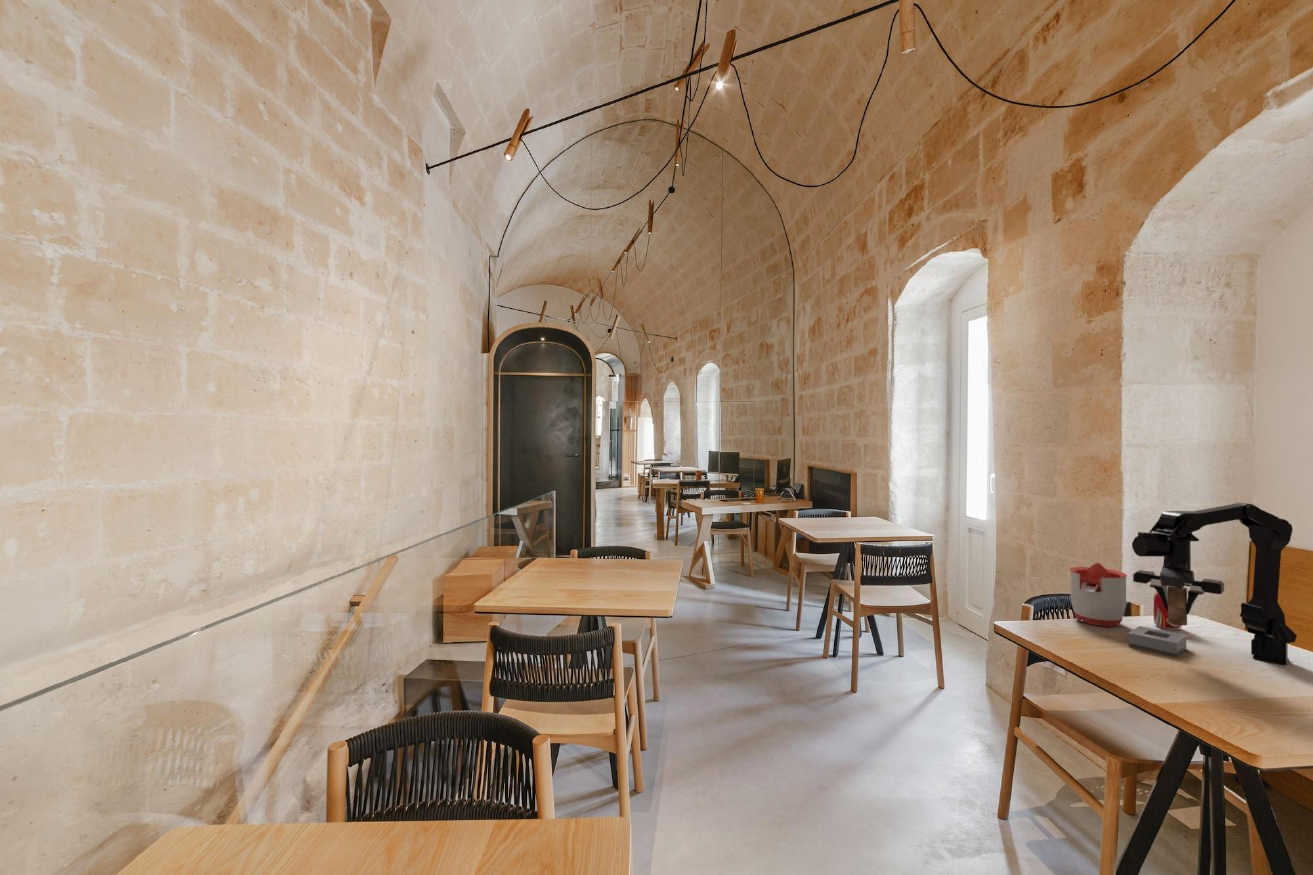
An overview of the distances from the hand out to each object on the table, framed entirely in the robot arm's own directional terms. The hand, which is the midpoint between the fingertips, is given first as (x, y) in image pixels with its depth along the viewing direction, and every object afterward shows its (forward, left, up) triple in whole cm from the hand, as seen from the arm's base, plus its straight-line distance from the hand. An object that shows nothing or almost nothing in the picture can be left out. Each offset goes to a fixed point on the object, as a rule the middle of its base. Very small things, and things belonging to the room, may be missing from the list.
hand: (1177, 612), depth 167 cm
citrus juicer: (+25, -21, -13) cm, 35 cm away
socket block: (+6, -6, -13) cm, 15 cm away
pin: (0, 0, -3) cm, 3 cm away
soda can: (+9, -33, -13) cm, 37 cm away
